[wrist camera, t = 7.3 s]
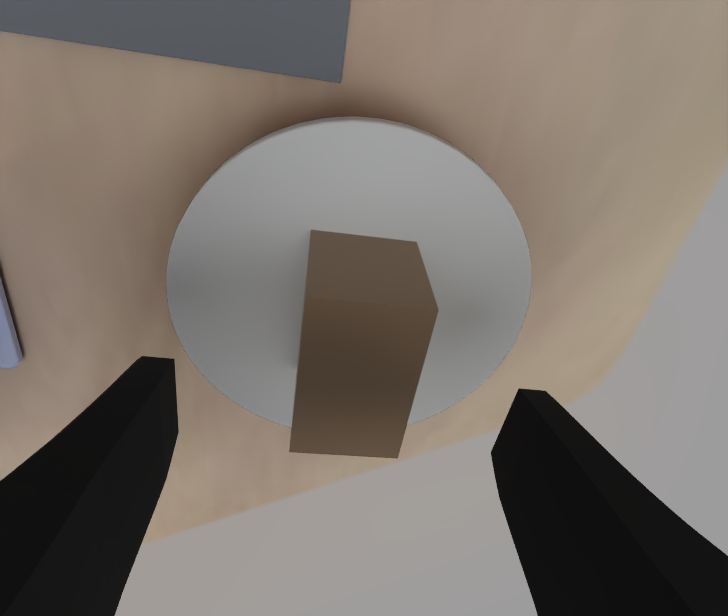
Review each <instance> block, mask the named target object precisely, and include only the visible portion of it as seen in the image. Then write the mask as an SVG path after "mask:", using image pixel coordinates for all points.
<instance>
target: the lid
mask: <svg viewBox="0 0 728 616" xmlns="http://www.w3.org/2000/svg"><path fill="white" fill-rule="evenodd" d="M530 292H531V261H530V255H529V248H528V244H527V241H526V238H525V235H524V231H523V228H522V225H521V223H520V221H519V219H518V217H517V215H516V213H515V211H514V209H513V207H512V206H511V204H510V203H509V201H508V200H507V199H506V197H505V196H504V195H503V193H502V192H501V190H500V189H499V188H498V186H497V185H496V184H495V182H494V181H493V180H492V179H491V177H490V176H489V175H488V174H487V173H486V172H485V171H484V170H483V169H482V168H481V167H480V166H479V165H478V164H477V163H476V162H475V161H474V160H473V159H471V158H470V157H469V156H467V155H466V154H465V153H463V152H462V151H461V150H459V149H458V148H457V147H455V146H454V145H452V144H450V143H448V142H447V141H445V140H443V139H441V138H439V137H437V136H436V135H434V134H432V133H429V132H427V131H424V130H421V129H419V128H416V127H413V126H411V125H408V124H404V123H399V122H395V121H390V120H386V119H381V118H370V117H357V116H347V117H331V118H322V119H317V120H312V121H307V122H302V123H297V124H294V125H291V126H289V127H286V128H283V129H280V130H277V131H274V132H272V133H270V134H268V135H266V136H264V137H262V138H260V139H258V140H256V141H254V142H252V143H250V144H248V145H247V146H246V147H244V148H243V149H241V150H240V151H239V152H237V153H236V154H234V155H233V156H232V157H230V158H229V159H228V160H226V161H225V162H224V163H223V164H222V165H221V166H220V167H219V168H218V169H217V170H216V171H215V172H214V173H213V174H212V175H211V176H210V177H209V178H208V180H207V181H206V182H205V184H204V185H203V186H202V188H201V189H200V190H199V192H198V193H197V194H196V196H195V197H194V199H193V200H192V202H191V203H190V205H189V207H188V209H187V210H186V212H185V214H184V216H183V218H182V220H181V222H180V224H179V225H178V227H177V230H176V233H175V236H174V239H173V242H172V245H171V247H170V252H169V258H168V263H167V269H166V294H167V301H168V307H169V313H170V316H171V319H172V323H173V326H174V329H175V332H176V334H177V336H178V338H179V340H180V342H181V344H182V346H183V348H184V350H185V352H186V353H187V355H188V356H189V358H190V359H191V361H192V362H193V364H194V365H195V367H196V368H197V369H198V370H199V371H200V372H201V373H202V374H203V376H204V377H205V378H206V379H207V380H208V381H209V382H210V383H211V384H212V385H213V386H214V387H216V388H217V389H218V390H219V391H220V392H221V393H222V394H224V395H225V396H226V397H228V398H229V399H231V400H232V401H233V402H235V403H236V404H238V405H239V406H241V407H243V408H245V409H247V410H248V411H250V412H252V413H254V414H256V415H258V416H260V417H263V418H265V419H267V420H270V421H272V422H275V423H278V424H281V425H284V426H288V427H291V439H290V450H289V452H297V453H314V454H332V455H349V456H366V457H383V458H398V455H399V451H400V448H401V444H402V440H403V437H404V433H405V430H406V426H407V425H410V424H413V423H416V422H419V421H421V420H424V419H427V418H429V417H431V416H433V415H435V414H437V413H440V412H442V411H444V410H446V409H447V408H449V407H451V406H452V405H454V404H455V403H457V402H459V401H460V400H462V399H463V398H465V397H466V396H467V395H468V394H470V393H471V392H472V391H474V390H475V389H476V388H478V387H479V386H480V385H481V384H482V383H483V382H484V381H485V380H486V379H487V378H488V377H489V376H490V375H491V374H492V373H493V372H494V370H495V369H496V368H497V367H498V366H499V364H500V363H501V362H502V361H503V360H504V358H505V356H506V355H507V353H508V352H509V350H510V349H511V347H512V346H513V344H514V342H515V340H516V338H517V336H518V334H519V332H520V329H521V327H522V325H523V322H524V318H525V315H526V312H527V309H528V304H529V298H530Z"/></svg>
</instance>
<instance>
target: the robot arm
mask: <svg viewBox="0 0 728 616" xmlns="http://www.w3.org/2000/svg"><path fill="white" fill-rule="evenodd" d="M21 360H22V353H21V349H20V346H19V342H18V339H17V335H16V331H15V328H14V324H13V321H12V317H11V314H10V310H9V306H8V303H7V299H6V296H5V292H4V288H3V285H2V281H1V278H0V368H14V367H16V366H17V365H18V364H19V363H20V361H21ZM177 435H178V415H177V398H176V381H175V364H174V359H169V358H157V357H146V356H142V357H140V358H139V359H138V360H136V361H135V362H134V363H133V364H132V365H131V366H130V367H129V368H128V369H127V370H126V371H125V372H124V373H123V374H122V375H121V376H120V377H119V378H118V379H117V380H116V381H115V382H114V383H113V384H112V385H111V386H110V387H109V388H108V389H107V390H106V391H104V392H103V393H102V394H101V395H100V396H99V397H98V398H97V399H96V400H95V401H94V402H93V403H92V404H91V405H90V406H88V407H87V408H86V409H85V410H84V411H83V412H82V413H81V414H80V415H78V416H77V417H76V418H75V419H74V420H73V421H72V422H71V423H70V424H68V425H67V426H66V427H65V428H64V429H63V430H62V431H61V432H60V433H58V434H57V435H56V436H55V437H54V438H53V439H51V440H50V441H49V442H48V443H47V444H45V445H44V446H43V447H42V448H40V449H39V450H38V451H37V452H36V453H34V454H33V455H32V456H31V457H30V458H28V459H27V460H26V461H25V462H23V463H22V464H21V465H20V466H19V467H17V468H16V469H15V470H14V471H12V472H11V473H10V474H9V475H7V476H6V477H5V478H3V479H2V480H1V481H0V616H114V615H115V612H116V610H117V607H118V604H119V601H120V598H121V595H122V592H123V589H124V587H125V584H126V582H127V579H128V577H129V574H130V571H131V569H132V566H133V564H134V561H135V559H136V556H137V554H138V551H139V548H140V546H141V543H142V541H143V538H144V536H145V533H146V530H147V528H148V525H149V523H150V520H151V518H152V515H153V512H154V510H155V507H156V505H157V502H158V499H159V497H160V494H161V492H162V489H163V486H164V484H165V481H166V478H167V474H168V470H169V467H170V463H171V459H172V455H173V451H174V447H175V443H176V439H177ZM491 456H492V462H493V468H494V473H495V479H496V483H497V488H498V493H499V498H500V501H501V504H502V507H503V511H504V513H505V517H506V520H507V523H508V526H509V529H510V532H511V535H512V538H513V541H514V544H515V547H516V550H517V553H518V556H519V559H520V562H521V565H522V568H523V571H524V574H525V577H526V580H527V583H528V586H529V589H530V592H531V595H532V598H533V601H534V604H535V608H536V611H537V615H538V616H728V556H727V555H726V554H725V553H723V552H722V551H721V550H720V549H718V548H717V547H716V546H714V545H713V544H712V543H711V542H709V541H708V540H707V539H706V538H704V537H703V536H702V535H700V534H699V533H698V532H697V531H695V530H694V529H693V528H692V527H691V526H690V525H688V524H687V523H686V522H685V521H683V520H682V519H681V518H680V517H679V516H678V515H676V514H675V513H674V512H673V511H672V510H671V509H670V508H668V507H667V506H666V505H665V504H664V503H663V502H662V501H661V500H659V499H658V498H657V497H656V496H655V495H654V494H653V493H651V492H650V491H649V490H648V489H647V488H646V487H645V486H644V485H643V484H642V483H641V482H639V481H638V480H637V479H636V478H635V477H634V476H633V475H632V474H631V473H630V472H629V471H628V470H627V469H626V468H624V467H623V466H622V465H621V464H620V463H619V462H618V461H617V460H616V459H615V458H614V457H613V456H612V455H611V454H610V453H609V452H608V451H607V450H606V449H605V448H604V447H603V446H602V445H601V444H600V443H599V442H598V441H597V440H596V439H595V438H594V437H593V436H592V435H590V433H589V432H588V431H587V430H585V429H584V428H583V427H582V426H581V425H580V424H579V423H578V422H577V421H576V420H575V419H574V418H573V417H572V416H571V415H570V414H569V413H568V412H567V411H566V410H565V409H564V408H563V407H562V406H561V405H560V404H559V403H558V402H557V401H556V400H555V399H554V398H553V397H552V396H550V395H549V394H548V393H547V392H546V391H541V390H529V389H518V392H517V394H516V396H515V398H514V401H513V403H512V405H511V408H510V410H509V412H508V415H507V417H506V419H505V421H504V424H503V426H502V428H501V431H500V433H499V435H498V437H497V440H496V442H495V444H494V447H493V449H492V451H491Z"/></svg>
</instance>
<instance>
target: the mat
mask: <svg viewBox="0 0 728 616" xmlns="http://www.w3.org/2000/svg"><path fill="white" fill-rule="evenodd" d="M349 8H350V0H0V31H6V32H12V33H19V34H25V35H32V36H38V37H45V38H51V39H58V40H64V41H71V42H77V43H84V44H90V45H97V46H103V47H110V48H116V49H123V50H129V51H136V52H142V53H149V54H155V55H162V56H168V57H175V58H181V59H188V60H194V61H201V62H207V63H214V64H220V65H227V66H233V67H240V68H246V69H253V70H259V71H266V72H272V73H279V74H285V75H292V76H298V77H305V78H311V79H318V80H324V81H331V82H337V83H341V76H342V68H343V59H344V51H345V42H346V33H347V25H348V16H349Z"/></svg>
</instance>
